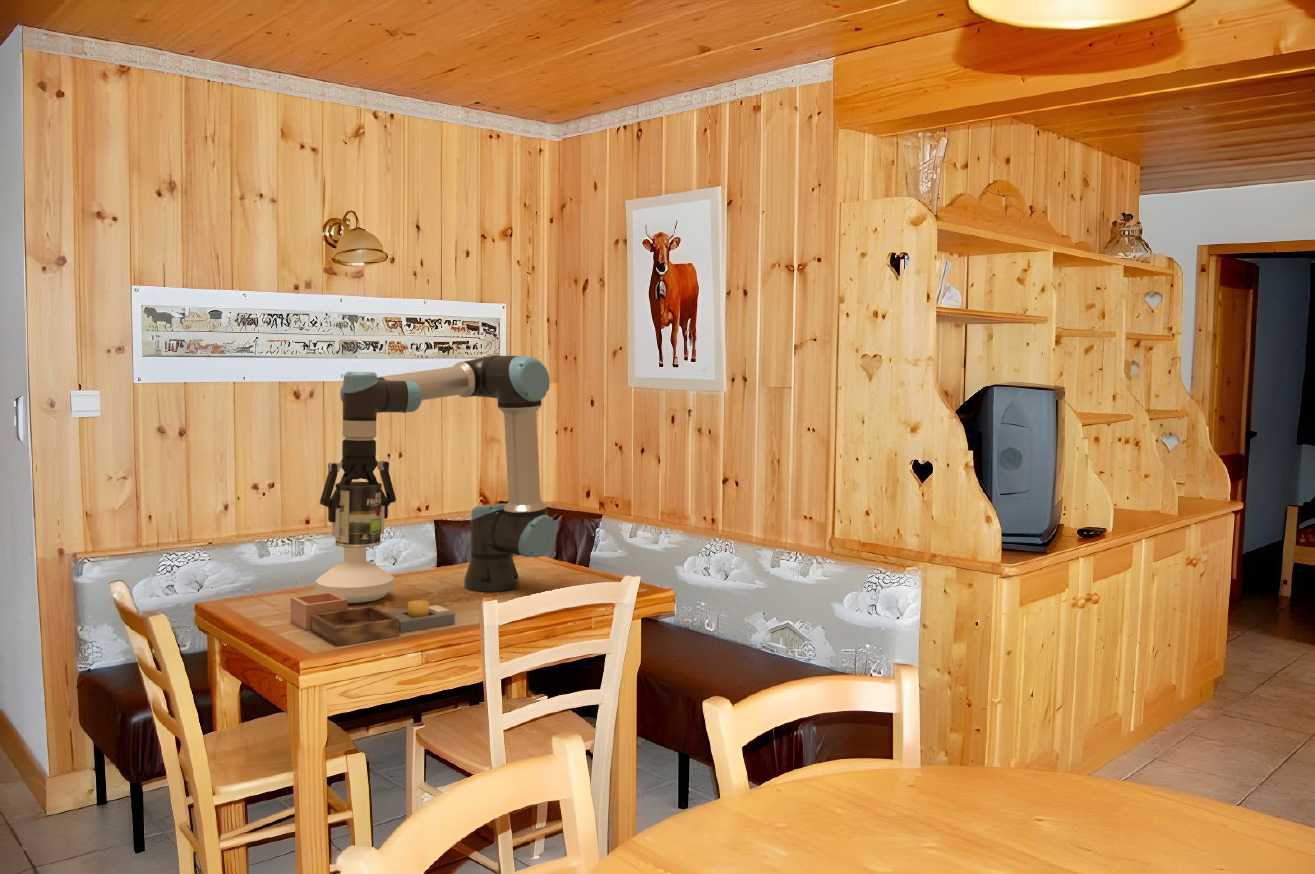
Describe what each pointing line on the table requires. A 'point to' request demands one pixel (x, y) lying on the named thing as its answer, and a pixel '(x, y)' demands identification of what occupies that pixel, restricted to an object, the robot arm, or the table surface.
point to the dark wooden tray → (354, 626)
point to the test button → (418, 608)
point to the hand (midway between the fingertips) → (358, 534)
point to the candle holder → (356, 578)
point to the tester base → (424, 619)
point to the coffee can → (359, 515)
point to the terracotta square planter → (314, 607)
